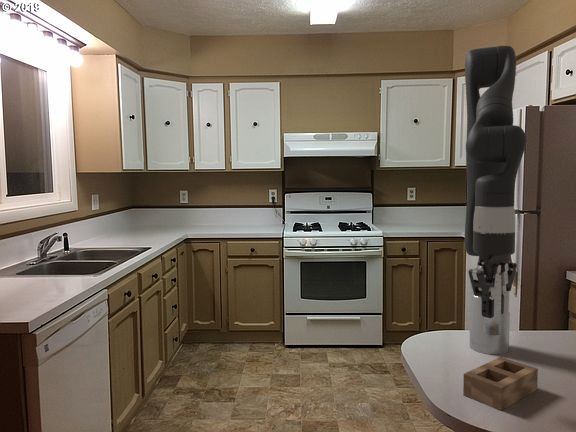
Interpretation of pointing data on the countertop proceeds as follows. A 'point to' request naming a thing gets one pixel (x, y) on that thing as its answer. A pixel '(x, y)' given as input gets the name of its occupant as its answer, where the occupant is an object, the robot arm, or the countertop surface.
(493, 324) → the peg
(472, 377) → the hole block
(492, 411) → the countertop surface
